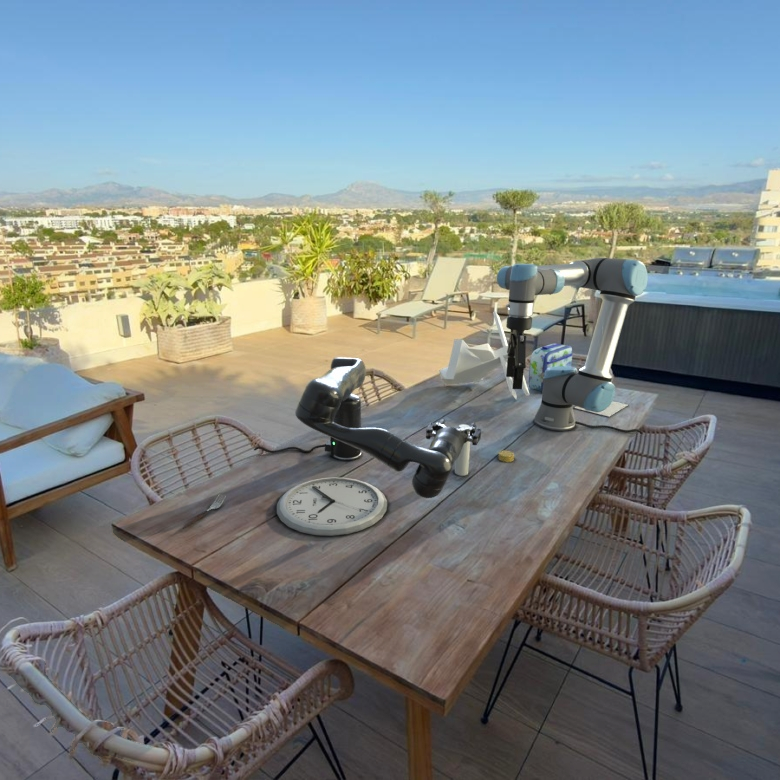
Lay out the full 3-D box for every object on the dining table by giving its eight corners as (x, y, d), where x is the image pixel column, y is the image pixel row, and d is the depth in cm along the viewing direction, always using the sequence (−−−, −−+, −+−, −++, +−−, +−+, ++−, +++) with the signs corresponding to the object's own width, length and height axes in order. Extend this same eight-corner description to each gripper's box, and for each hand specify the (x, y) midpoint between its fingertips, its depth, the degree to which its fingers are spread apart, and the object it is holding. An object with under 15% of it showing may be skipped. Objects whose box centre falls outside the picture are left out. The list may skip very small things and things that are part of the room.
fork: (178, 529, 130) (177, 522, 129) (219, 499, 144) (218, 493, 144) (187, 531, 129) (186, 524, 129) (227, 501, 143) (226, 494, 143)
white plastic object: (461, 429, 252) (437, 405, 227) (444, 352, 274) (420, 323, 250) (535, 404, 240) (518, 377, 215) (510, 326, 262) (492, 293, 237)
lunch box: (544, 395, 239) (549, 351, 233) (524, 390, 247) (528, 347, 240) (571, 384, 257) (577, 343, 251) (552, 380, 264) (556, 339, 258)
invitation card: (608, 416, 214) (573, 407, 224) (608, 416, 214) (573, 408, 224) (628, 404, 229) (594, 396, 238) (628, 405, 229) (594, 397, 238)
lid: (501, 454, 177) (501, 449, 176) (515, 457, 174) (516, 452, 174) (496, 459, 173) (496, 454, 172) (511, 463, 170) (511, 457, 170)
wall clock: (392, 527, 129) (268, 531, 127) (391, 533, 130) (269, 537, 127) (383, 473, 158) (282, 475, 155) (383, 478, 158) (282, 480, 156)
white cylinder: (462, 477, 160) (465, 429, 156) (451, 472, 163) (454, 426, 159) (470, 472, 163) (474, 426, 159) (460, 468, 166) (462, 422, 161)
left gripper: (475, 436, 129) (484, 414, 143) (419, 429, 133) (433, 408, 147) (473, 464, 131) (482, 439, 146) (418, 455, 135) (432, 433, 150)
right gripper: (501, 309, 172) (496, 371, 178) (513, 322, 148) (507, 394, 154) (525, 310, 171) (519, 372, 177) (540, 323, 147) (533, 394, 154)
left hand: (458, 424), depth 147 cm, fingers open, 8 cm apart
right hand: (513, 382), depth 166 cm, fingers open, 13 cm apart
